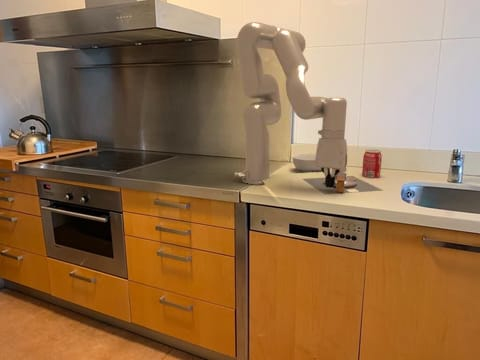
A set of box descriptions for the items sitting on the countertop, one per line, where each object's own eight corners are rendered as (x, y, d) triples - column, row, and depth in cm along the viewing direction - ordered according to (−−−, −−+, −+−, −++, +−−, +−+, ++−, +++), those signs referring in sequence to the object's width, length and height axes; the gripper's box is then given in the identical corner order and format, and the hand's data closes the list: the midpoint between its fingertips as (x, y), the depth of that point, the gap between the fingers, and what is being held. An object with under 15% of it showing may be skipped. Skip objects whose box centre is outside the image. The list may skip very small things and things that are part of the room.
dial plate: (324, 198, 123) (324, 193, 122) (302, 182, 144) (302, 178, 143) (382, 194, 127) (383, 189, 126) (352, 179, 148) (352, 175, 147)
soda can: (375, 177, 151) (378, 149, 148) (382, 181, 144) (385, 152, 141) (359, 177, 150) (361, 149, 147) (365, 182, 143) (367, 152, 140)
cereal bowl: (316, 166, 173) (317, 151, 172) (337, 173, 158) (338, 157, 156) (285, 169, 167) (286, 154, 166) (304, 177, 152) (305, 160, 151)
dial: (324, 177, 142) (325, 167, 141) (356, 179, 139) (357, 169, 138) (322, 190, 125) (322, 179, 124) (358, 192, 121) (359, 181, 120)
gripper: (308, 134, 123) (305, 185, 127) (351, 137, 115) (347, 192, 119) (316, 132, 129) (313, 181, 133) (358, 135, 121) (354, 187, 125)
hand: (329, 186), depth 126 cm, fingers closed
